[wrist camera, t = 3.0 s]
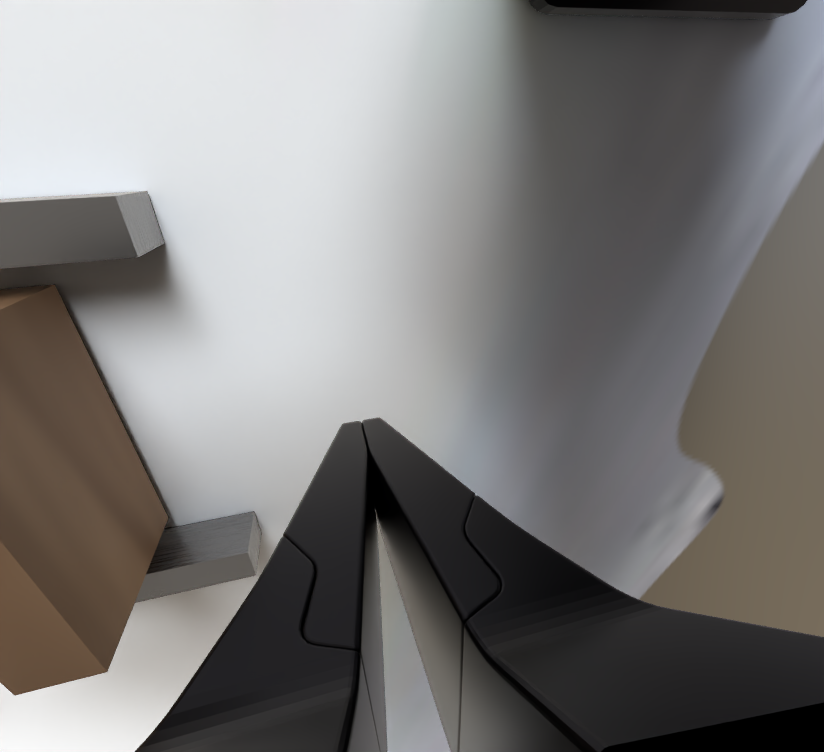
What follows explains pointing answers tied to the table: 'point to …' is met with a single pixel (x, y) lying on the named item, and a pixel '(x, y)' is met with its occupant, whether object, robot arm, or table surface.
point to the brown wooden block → (64, 502)
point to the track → (118, 239)
